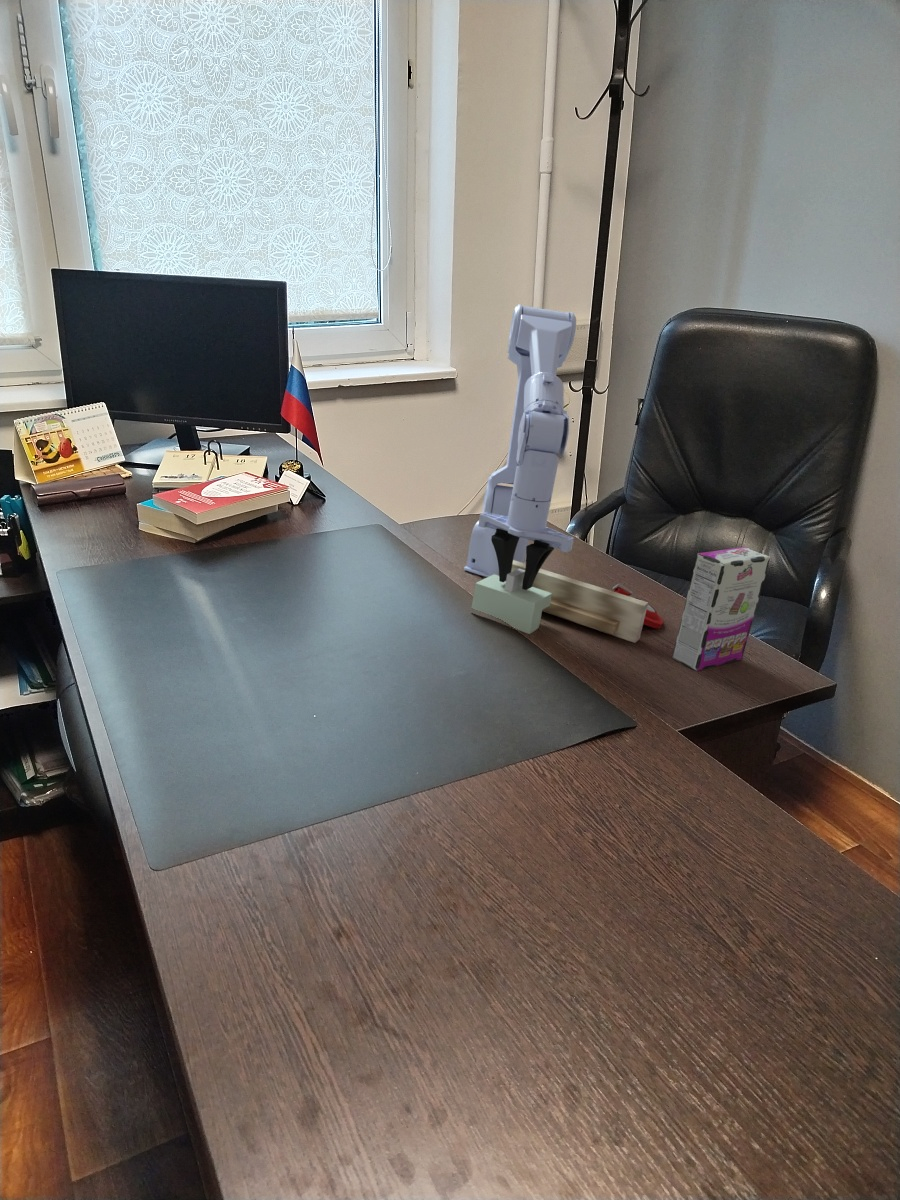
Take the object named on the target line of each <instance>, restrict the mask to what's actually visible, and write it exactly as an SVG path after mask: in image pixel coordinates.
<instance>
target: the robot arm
mask: <svg viewBox="0 0 900 1200" xmlns="http://www.w3.org/2000/svg"><path fill="white" fill-rule="evenodd" d="M509 327H510V328H509V338H508V345H507V353H508V357H507V358H508V360H509V361H511V362H512V363H513V364H515V365H516V369H517V370H516V371H517V384H516V394H515V401H514V409H513V414H512V422H511V429H510V435H509V443H508V450H507V451H508V452H507V457H506V464H505V465H504V466H502V467H501V468H499V469H497V470H495V471H493V472H491V474H490V476H488V478H487V482H486V486H485V487H486V488H485V491H484V497H483V502H482V513H480V514H479V520H477V522H476V523H475V524H474V526H473V528H472V532H471V535H470V539H469V548H468V553H467V560H466V565H465V566H464V567H463V570H464V571H466V572H469V573H473V574H476V575H479V576H482V577H484V578H487V577H489V576H491V575H493V574H495V575H498V573H499V581H500V582H505V581H506V578H507V574H509V573H511V570H512V563H513V560H515V561H518V562H521V563H524V564H526V568H525V574H524V578H523V583H522V589H524V590H528V589H529V588H531V587H532V585H533V582H534V580H535V578H536V575H537V573H538V571H539V570H540V569H542V566H543V564H544V563H545V561H546V560H547V559H548V558H549V556H550V555H551V554H552V552H553V551H554V550H555V549H558V550H559V551H560V552H563V553H569V552H570V551H572V549H573V545H574V540H575V537H573V536H570V535H566V534H564V533H563V532H559V531H558V530H555V529H552V528H550V527H548V526H547V523H548V518H549V514H550V513H549V512H550V507H551V503H552V498H553V497H552V496H553V493H554V487H555V481H556V476H557V470H558V466H559V461H560V458H559V456H560V457H563V455H564V453H565V452H566V447H567V445H568V444H567V443H568V439H569V433H570V418H569V417H570V416H569V414H568V412H567V410H564V409H565V407H564V400H565V399H564V396H565V395H564V392H565V391H564V390H565V389H564V383H563V381H562V379H561V378H560V377H559V376H557V371H558V368H561V367H562V366H563V364H564V362H565V361H566V359H567V356H568V355H569V353H570V351H571V349H572V346H573V343H574V339H575V336H576V329H577V318H576V316H575V312H573V311H569V312H565V311H559V310H558V311H557V310H553V309H545V308H539V307H531V306H526V305H523V304H520V303H519V304H517V305H516V306H515V307H514V309H513V311H512V316H511V321H510V326H509ZM558 454H559V456H558ZM501 484H507V485H501ZM509 485H513V486H509ZM529 541H530V542H533V543H530V544H529Z"/></svg>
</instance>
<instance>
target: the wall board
mask: <svg viewBox="0 0 900 1200" xmlns="http://www.w3.org/2000/svg"><path fill="white" fill-rule="evenodd" d="M525 568H526V563H525V562H524V563H521V562H518V561H515V560H513V563H512V570H511V572H513V571H515V570H517V569H522V570H525ZM498 576H499V573H498ZM532 587H535V588H538V589H541V590H544V591H547V592H550V593H552V597H551V602H550V606H548V607H546V608H545V609H543V610H542V613H547V614H549V615H551V616H555V617H558V618H561V619H564V620H567V621H569V622H573V623H576V624H578V625H582V626H584V627H587V628H591V629H593V630H597V631H599V632H603V633H604V634H607V635H611V636H614V637H616V638H619V639H623V640H625V641H628V642H632V643H635V644H636V643H637V642H638V641H639V640H640V639H641V634H642V630H643V628H644V627H643V626H644V624H643V623H644V619H645V614H646V610H647V606H648V604H649V602H648V601H644V600H642V599H640V598H638V599H636V598H637V597H633V598H632V596H630V597H629V596H626V595H623V594H620V593H617V592H614V590H610V589H606V588H603V587H601V586H598V585H594V584H591V583H588V582H584V581H581V580H577V579H575V578H573V577H568V576H566V575H563V574H559V573H556V572H552V571H549V570H546V569H543V568H540V570H539V571H538V573H537V575H536V578H535V580H534V582H533V585H532ZM639 599H640V600H639Z"/></svg>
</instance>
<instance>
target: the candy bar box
mask: <svg viewBox="0 0 900 1200" xmlns="http://www.w3.org/2000/svg"><path fill="white" fill-rule="evenodd" d="M771 558H772V557H771V556H769V555H767V554H764V553H761V552H759V551H757V550H755V549H751V548H749V547H745V546H741V547H734V548H727V549H720V550H712V551H707V552H706V551H705V552H698V553H697V555H696V558H695V563H694V567H693V572H692V576H691V579H690V583H689V587H688V591H687V594H686V595H687V596H686V601H685V604H684V608H683V612H682V615H681V619H680V623H679V628H678V632H677V636H676V640H675V644H674V648H673V653H672V655H671V657H672V659H673V660H675V661H677V663H680V664H682V665H684V666H686V667H688V668H690V669H692V670H693V671H696V672H699V671H703V670H707V669H708V670H709V669H710V668H711V669H712V668H714V667H718V666H721V665H726V664H728V663H733V662H737V661H739V660H742V659H743V656H744V654H745V650H746V645H747V642H748V639H749V634H750V631H751V627H752V624H753V620H754V617H755V615H756V610H757V606H758V603H759V599H760V597H761V593H762V588H763V585H764V582H765V578H766V576H767V575H766V574H767V570H768V568H769V563H770V560H771Z"/></svg>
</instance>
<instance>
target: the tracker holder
mask: <svg viewBox="0 0 900 1200" xmlns="http://www.w3.org/2000/svg"><path fill="white" fill-rule="evenodd" d="M611 589H612V591H613V592H617V593H620V594H623V595H626V596H629V597H632V595H633V593H634V592H633V591H631V590H630V589H628V588H627V587H625V586H624V585H622V584H621V583H618V584H616V585H615V586H613V587H612V588H611ZM632 598H634V597H632ZM635 598H636V599H639V600H641V598H638V597H635ZM663 624H664V620H663V618H662V617H661V615H660V614H658V611H657V610H656V609H655V608H654V607H653V606H652V605H650V604H649V603H648V606H647V610H646V614H645V619H644V623H643V626H644V625H645V626H647V627H650V628H652V629H657V630H659V629H661V628H662V626H663Z"/></svg>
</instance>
